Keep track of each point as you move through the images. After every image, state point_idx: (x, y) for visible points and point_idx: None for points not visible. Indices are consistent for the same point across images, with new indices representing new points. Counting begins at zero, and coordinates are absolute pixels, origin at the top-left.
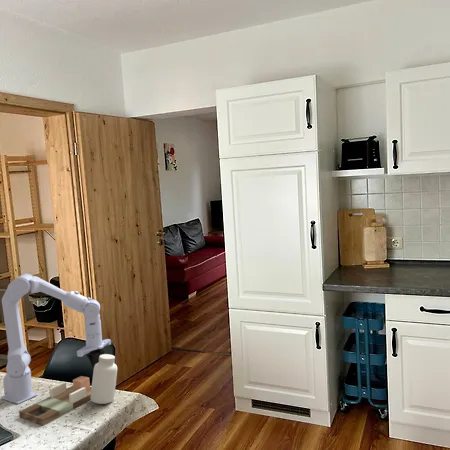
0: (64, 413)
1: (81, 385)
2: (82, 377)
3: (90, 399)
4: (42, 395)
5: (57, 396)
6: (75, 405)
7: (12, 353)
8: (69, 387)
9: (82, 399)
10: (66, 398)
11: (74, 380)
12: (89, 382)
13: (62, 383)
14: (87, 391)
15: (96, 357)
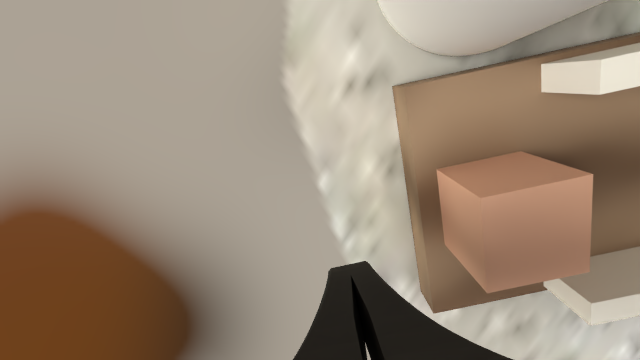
0: None
1: (555, 166)
2: (509, 255)
3: (487, 66)
4: (574, 356)
5: (630, 233)
6: (633, 35)
7: None
8: (498, 297)
9: (582, 47)
10: (631, 154)
11: (589, 252)
12: (460, 183)
13: (615, 308)
14: (479, 139)
15: (454, 354)
